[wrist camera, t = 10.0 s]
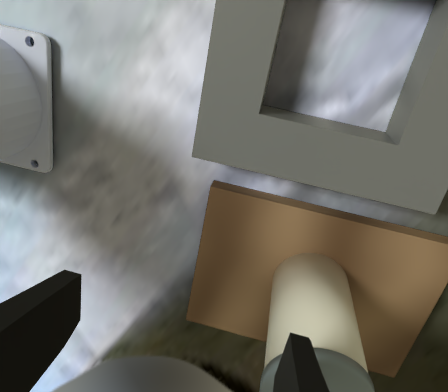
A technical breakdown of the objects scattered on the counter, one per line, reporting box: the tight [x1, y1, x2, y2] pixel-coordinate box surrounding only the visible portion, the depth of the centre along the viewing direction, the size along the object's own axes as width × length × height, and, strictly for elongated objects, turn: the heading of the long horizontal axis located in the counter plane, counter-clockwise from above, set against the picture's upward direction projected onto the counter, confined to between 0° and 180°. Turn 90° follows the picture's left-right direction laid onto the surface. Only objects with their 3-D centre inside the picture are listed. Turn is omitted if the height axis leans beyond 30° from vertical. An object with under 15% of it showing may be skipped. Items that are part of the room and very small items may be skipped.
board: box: [186, 180, 448, 377], centre depth 22 cm, size 14×10×1 cm
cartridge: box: [260, 253, 375, 392], centre depth 18 cm, size 5×5×8 cm
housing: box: [192, 0, 448, 215], centre depth 16 cm, size 12×12×2 cm
